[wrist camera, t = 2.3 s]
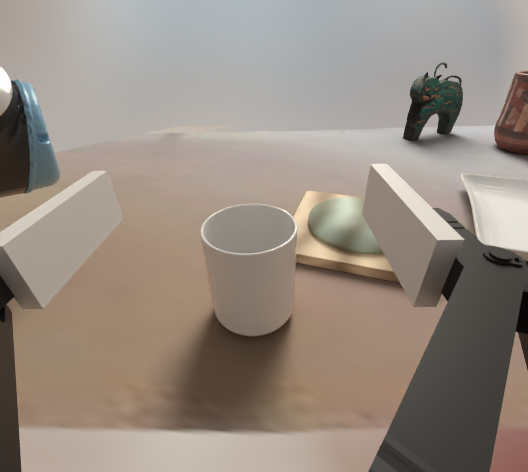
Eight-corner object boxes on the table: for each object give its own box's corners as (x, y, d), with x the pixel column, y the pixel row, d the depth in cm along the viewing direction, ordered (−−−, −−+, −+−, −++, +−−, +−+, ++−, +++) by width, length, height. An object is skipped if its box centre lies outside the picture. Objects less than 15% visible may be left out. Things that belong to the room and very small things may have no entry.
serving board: (276, 258, 40) (276, 243, 38) (306, 197, 55) (307, 186, 54) (436, 289, 34) (442, 273, 32) (419, 212, 49) (423, 199, 48)
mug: (293, 345, 28) (298, 256, 22) (206, 340, 29) (186, 252, 23) (293, 267, 38) (297, 191, 32) (228, 265, 39) (219, 190, 33)
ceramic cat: (410, 142, 84) (430, 64, 73) (393, 137, 89) (410, 63, 78) (456, 134, 91) (481, 60, 80) (439, 129, 96) (460, 60, 85)
